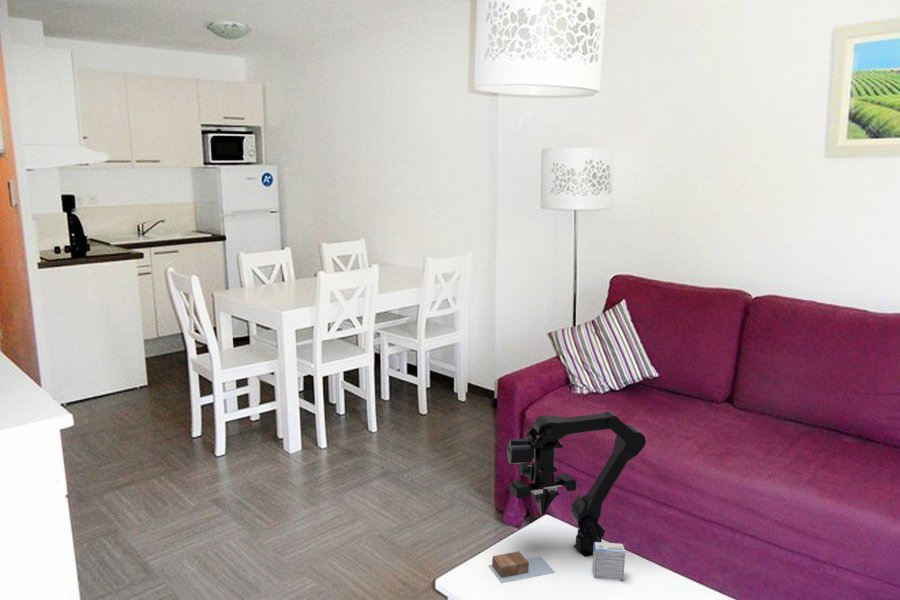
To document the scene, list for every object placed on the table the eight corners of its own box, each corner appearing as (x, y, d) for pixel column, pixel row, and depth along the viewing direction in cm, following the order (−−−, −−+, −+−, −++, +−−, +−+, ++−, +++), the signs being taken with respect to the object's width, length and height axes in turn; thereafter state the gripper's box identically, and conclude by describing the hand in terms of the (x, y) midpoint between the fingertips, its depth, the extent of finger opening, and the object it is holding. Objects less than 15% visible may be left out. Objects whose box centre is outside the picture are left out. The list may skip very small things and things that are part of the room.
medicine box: (621, 572, 189) (623, 543, 188) (623, 582, 185) (625, 551, 183) (591, 570, 190) (593, 541, 189) (593, 579, 186) (595, 549, 184)
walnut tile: (519, 551, 193) (492, 556, 190) (528, 562, 187) (501, 567, 184) (518, 561, 193) (492, 566, 190) (528, 572, 188) (501, 577, 185)
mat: (540, 557, 196) (540, 555, 196) (555, 573, 188) (555, 572, 188) (487, 566, 191) (487, 565, 191) (501, 584, 183) (501, 583, 182)
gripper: (560, 447, 204) (557, 497, 207) (501, 454, 198) (500, 506, 200) (579, 462, 194) (576, 514, 196) (518, 470, 187) (516, 524, 190)
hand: (542, 514), depth 196 cm, fingers closed
